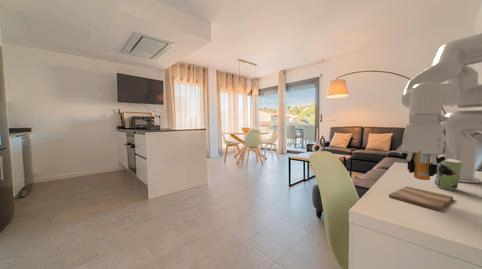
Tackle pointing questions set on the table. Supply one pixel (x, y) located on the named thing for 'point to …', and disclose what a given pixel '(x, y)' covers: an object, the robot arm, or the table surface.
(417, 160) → the supplement box
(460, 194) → the table surface
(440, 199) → the walnut board
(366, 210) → the table surface
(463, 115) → the robot arm
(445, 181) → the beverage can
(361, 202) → the table surface
